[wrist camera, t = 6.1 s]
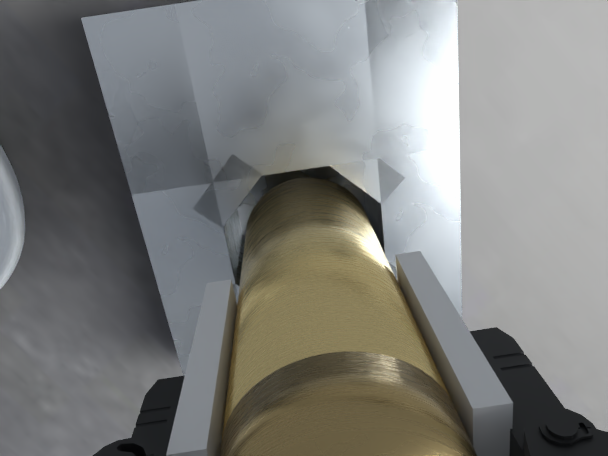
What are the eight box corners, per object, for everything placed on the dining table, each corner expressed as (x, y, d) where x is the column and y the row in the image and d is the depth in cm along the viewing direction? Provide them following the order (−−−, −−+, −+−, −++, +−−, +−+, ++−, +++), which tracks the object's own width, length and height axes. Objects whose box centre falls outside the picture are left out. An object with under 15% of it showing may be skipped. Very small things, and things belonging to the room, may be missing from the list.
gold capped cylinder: (257, 298, 22) (240, 648, 10) (235, 187, 20) (179, 457, 8) (374, 281, 22) (498, 609, 10) (363, 168, 20) (501, 408, 8)
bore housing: (215, 358, 29) (201, 440, 24) (129, 14, 22) (80, 17, 16) (427, 327, 29) (463, 402, 24) (410, -28, 22) (456, -39, 16)
